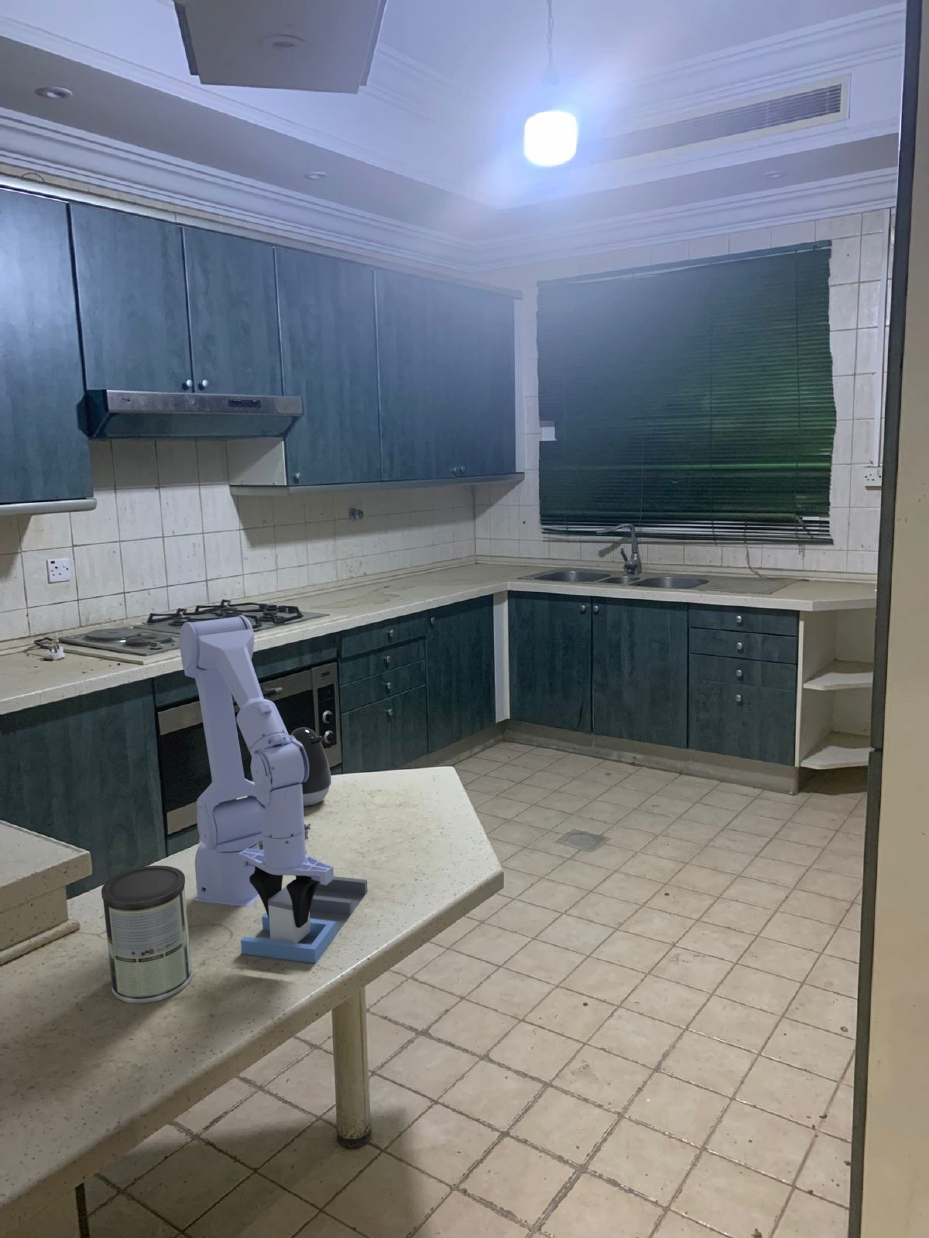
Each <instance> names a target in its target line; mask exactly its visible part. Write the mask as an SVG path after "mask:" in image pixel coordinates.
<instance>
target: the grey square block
mask: <svg viewBox="0 0 929 1238" xmlns="http://www.w3.org/2000/svg"><path fill="white" fill-rule="evenodd" d="M268 907H269V923H270V939H271V940H276V941H284V942H292V943H298V942H299V941H300V940H301V939H302V938H304V937H305V936H306V935H307V934H308V933H310V932H311V927H310V911H309V916H308V922H307V923H305V924H304V925H303V926H302V927H300V928H297V927H296V925H295V921H294V915H293V906H292V901H291V898H290V895H289V892H288V890H287V888H286V887H285V886H284V887H282V890H281V891H279V892H278V893H277V894H275V895H274V896H273V897H271V898H270V899H268Z"/></svg>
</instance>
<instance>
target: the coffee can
mask: <svg viewBox="0 0 929 1238" xmlns="http://www.w3.org/2000/svg"><path fill="white" fill-rule="evenodd" d="M185 884H186V875H185V874H184V872H183V871H182V870H180V869H179V868H177V867H173V866H168V865H146V866H145V865H144V866H140V867H136V868H132V869H128V870H126V871H123V872H120V873H118V874H116V875H114V876H112V877H111V878H110V879H107V881H106V882H105V883H104V884H103V886H102V887H101V890H100V891H101V899H102V900H103V901H102V902H103V911H104V919H105V920H104V921H105V931H106V940H107V952H108V959H109V962H108V963H109V968H110V969H109V971H110V978H111V992H112V994H113V996H114V997H115V998H116V999H118V1000H120V1001H122V1002H124V1003H129V1004H149V1003H154V1002H159V1001H161V1000H165V999H167V998H170V997H172V996H174V995H176V994H178V993H180V991H182V990H183V989H184V988H185V987H187V985H189V983H190V982H191V979H192V978H193V969H192V960H191V959H192V958H191V948H190V937H189V925H188V911H187V901H186V890H185V889H186V887H185Z"/></svg>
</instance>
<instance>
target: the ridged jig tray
mask: <svg viewBox="0 0 929 1238" xmlns="http://www.w3.org/2000/svg"><path fill="white" fill-rule="evenodd" d="M368 892H369V891H368V879H363V878H354V877H353V878H352V877H345V876H344V877H343V876H335V875H334V879H333V880H332V881H331V882H330V883H328V884H327V885H323V884H320V883H319V884H318V887H317V889H316V891H315V893H314V896H313V899H312V902H311V906H310V927H311V932H310V933H308V934H307V935H306V936H305V937H304V938H302V939H301V940H300V941H299V942H298V943H292V942H284V941H276V940H271V939H270V923H269V918H268V915H267V913H264V914H263V915H262V916H261V921H262V929H261V931H260V932H259V933H258V935H256V936H255V937H250V936H243V937H242V938H241V939H240V946H241V947H240V949H241V954H240V956H248V957H255V958H261V959H262V958H263V959H270V960H279V961H285V962H291V963H292V962H295V963H300V964H301V963H302V964H309V965H316V964H317V963H318V961H319V960H320V958H321V957H322V956H323V954H324V953H325V952H326V950H327V949H328V947H329V946H330V945H331V943H332V942H333V940H334V939H335V937H336V936H337V934H338V933H340V930H342V928H343V926H344V925H345V924H346V923H347V921H348V920H349V918H350V917H351V916H352V914H353V913H354V912H355V910H356V908H357V907H358V906H359V904H360V903H361V901H362V900H363V899H364V897H366V895H367V893H368Z"/></svg>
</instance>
